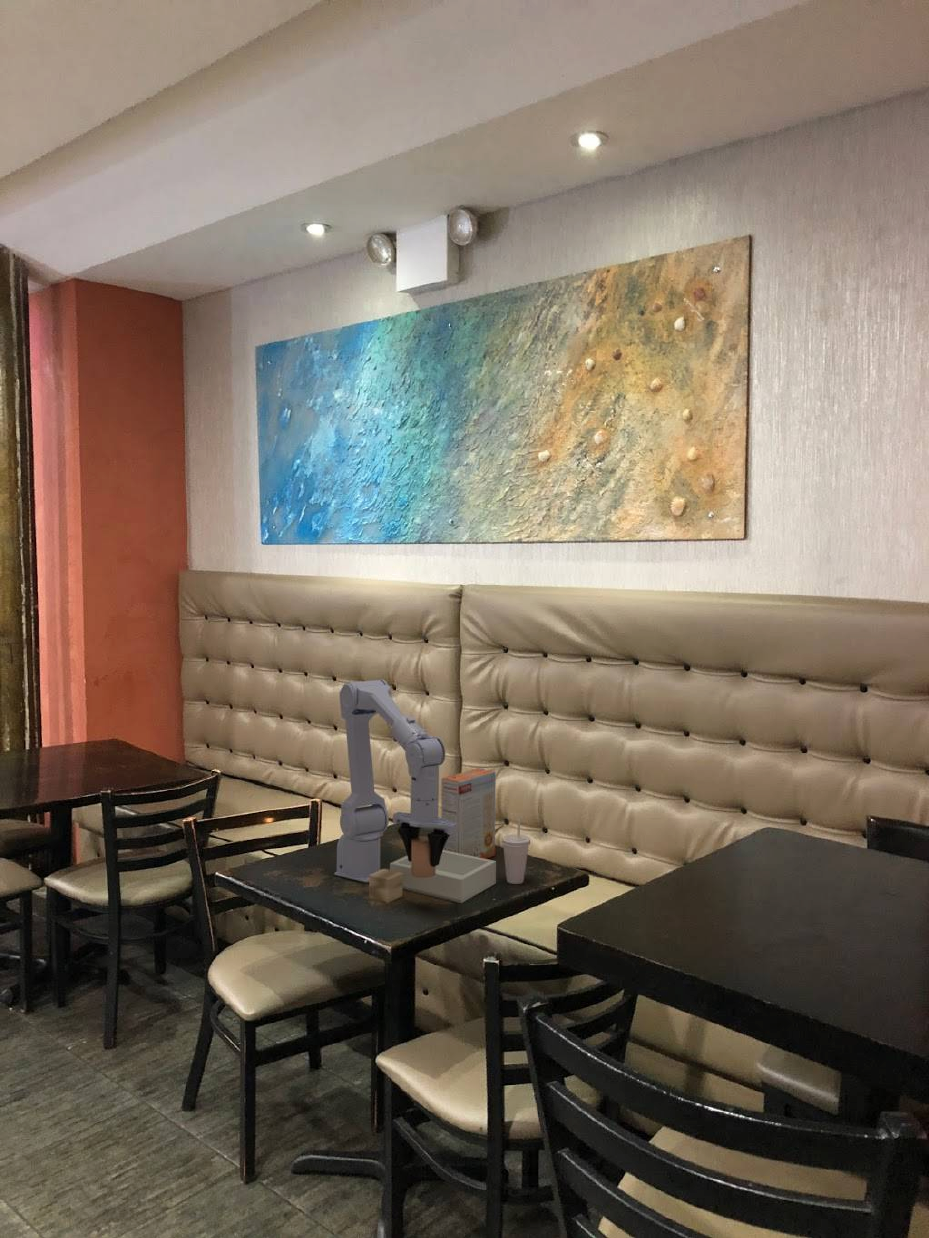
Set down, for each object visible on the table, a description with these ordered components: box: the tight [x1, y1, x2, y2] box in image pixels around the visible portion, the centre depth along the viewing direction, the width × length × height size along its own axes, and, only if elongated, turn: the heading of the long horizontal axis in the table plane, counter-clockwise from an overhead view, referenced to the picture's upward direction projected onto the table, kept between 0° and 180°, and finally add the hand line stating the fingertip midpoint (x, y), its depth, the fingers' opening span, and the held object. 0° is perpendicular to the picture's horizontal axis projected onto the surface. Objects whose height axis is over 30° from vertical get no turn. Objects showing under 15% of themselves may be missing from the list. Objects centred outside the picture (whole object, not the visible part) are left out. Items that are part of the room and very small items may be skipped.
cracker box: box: [441, 767, 496, 859], centre depth 225 cm, size 14×6×21 cm, turn 141°
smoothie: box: [501, 818, 531, 885], centre depth 212 cm, size 6×6×14 cm
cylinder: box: [411, 836, 436, 878], centre depth 195 cm, size 5×5×7 cm
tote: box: [389, 850, 497, 904], centre depth 209 cm, size 18×14×5 cm
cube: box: [368, 868, 404, 904], centre depth 201 cm, size 5×5×5 cm
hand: (423, 862), depth 195 cm, fingers closed on cylinder, 5 cm apart
